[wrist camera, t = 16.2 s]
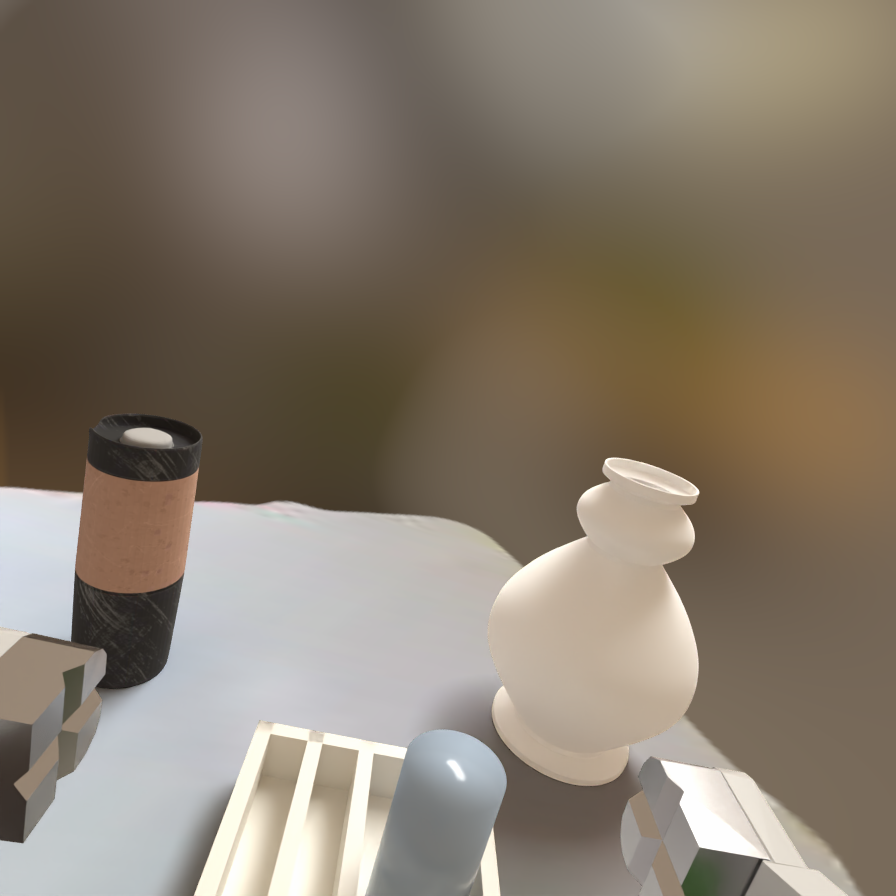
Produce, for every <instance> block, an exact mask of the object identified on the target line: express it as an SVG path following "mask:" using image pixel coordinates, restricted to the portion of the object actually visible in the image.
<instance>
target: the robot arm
mask: <svg viewBox="0 0 896 896" xmlns="http://www.w3.org/2000/svg"><path fill="white" fill-rule="evenodd" d="M106 659H107V654H106V653H105V651H104V650H103V649H102V648H97V647H93V646H88V645H84V644H79V643H74V642H70V641H65V640H61V639H56V638H52V637H47V636H43V635H38V634H33V633H32V634H29V633H27V632H22V631H17V630H13V629H8V628H3V627H0V840H2V841H10V842H17V843H24V841H25V840H26V838H27V837H28V836H29V834H30V833H31V831H32V830H33V829H34V827H35V826H36V824H37V823H38V822H39V820H40V819H41V817H42V816H43V814H44V813H45V812H46V810H47V809H48V807H49V806H50V805H51V803H52V802H53V800H54V799H55V790H56V781H57V780H58V779H60V778H62V777H64V776H66V775H68V774H70V773H72V772H74V770H75V769H76V767H77V766H78V764H79V763H80V761H81V760H82V758H83V757H84V756H85V754H86V752H87V750H88V748H89V745H90V743H91V741H92V739H93V737H94V735H95V733H96V729H97V725H98V722H99V718H100V714H101V707H102V699H101V697H100V696H99V694H98V693H97V691H96V690H95V687H96V685H97V684H98V683H99V682H100V680H101V679H102V678H103V676H104V675H105V672H106ZM638 778H639V780H640V783H641V786H642V789H643V790H642V791H640V792H639V793H637V794H636V795H634V796H633V797H631V798H630V799H629V800H628V802H627V805H626V808H625V810H624V813H623V816H622V822H621V834H620V839H621V847H622V854H623V857H624V861H625V864H626V867H627V870H628V871H629V872H630V873H631V874H632V876H633V877H634V878H635V879H636V880H637V881H638V882H639V883H640V885H641V886H642V888H641V890H640V893H639V895H638V896H848V895H847V894H845V893H844V892H843V891H842V890H841V889H840V888H838V887H837V886H836V885H835V884H834V883H832V882H831V881H830V880H829V879H828V878H826V877H825V876H824V875H823V874H822V873H820V872H819V871H818V870H813V869H808V868H807V866H806V865H805V863H804V861H803V860H802V858H801V856H800V855H799V853H798V852H797V850H796V848H795V847H794V845H793V844H792V842H791V840H790V839H789V837H788V835H787V834H786V832H785V831H784V829H783V827H782V826H781V824H780V822H779V821H778V819H777V818H776V816H775V814H774V813H773V811H772V810H771V808H770V806H769V805H768V803H767V801H766V800H765V798H764V797H763V795H762V793H761V792H760V790H759V789H758V787H757V785H756V784H755V782H754V780H753V779H752V778H750V777H749V776H748V775H747V774H745V773H744V772H738V771H732V770H726V769H720V768H715V767H713V768H709V767H704V766H699V765H693V764H688V763H683V762H678V761H672V760H667V759H662V758H656V757H650V758H649V759H648V760H647V761H646V762H645V763H644V764H643V766H642V769H641V771H640V773H639V776H638Z"/></svg>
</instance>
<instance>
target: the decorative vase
mask: <svg viewBox="0 0 896 896" xmlns="http://www.w3.org/2000/svg"><path fill="white" fill-rule="evenodd" d="M603 473H604V474H605V475H606V476H607V477H608V478H609V479H610V480H611V481H610V482H607V483H603V484H600V485H598V486H595V487H593V488H591V489H589V490H588V491H586V492H585V493H584V494H583V495H582V496H581V498H580V499H579V502H578V505H577V515H578V519H579V521H580V523H581V526H582V527H583V529H584V531H585V533H586V534H587V537H584V538H581V539H579V540H576V541H574V542H571V543H569V544H566V545H564V546H561V547H559V548H556V549H554V550H552V551H550V552H548V553H546V554H544V555H542V556H540V557H539V558H537V559H535V560H534V561H532V562H531V563H529V564H528V565H526V566H525V567H524V568H522V569H521V570H520V571H518V572H517V573H516V574H515V575H514V576H513V577H512V578H511V579H510V580H509V581H508V582H507V583H506V584H505V585H504V587H503V588H502V589H501V591H500V593H499V594H498V596H497V598H496V600H495V602H494V605H493V607H492V610H491V613H490V617H489V622H488V643H489V649H490V653H491V656H492V659H493V662H494V665H495V667H496V670H497V672H498V675H499V677H500V679H501V681H502V683H503V685H504V686H502V687H501V688H500V689H499V690H498V692H497V694H496V695H495V698H494V701H493V705H492V719H493V723H494V726H495V728H496V730H497V732H498V734H499V736H500V737H501V739H502V740H503V742H504V743H505V744H506V745H507V747H508V748H509V749H510V750H511V751H512V752H513V753H514V754H515V755H516V756H517V757H518V758H520V759H521V760H522V761H523V762H525V763H526V764H527V765H529V766H530V767H532V768H533V769H535V770H537V771H538V772H540V773H542V774H544V775H546V776H548V777H551V778H553V779H556V780H558V781H561V782H565V783H569V784H573V785H580V786H597V785H603V784H606V783H609V782H611V781H613V780H615V779H616V778H617V777H619V776H620V775H621V773H622V772H623V771H624V769H625V766H626V764H627V761H628V757H629V747H628V745H631V744H635V743H638V742H641V741H644V740H647V739H649V738H652V737H654V736H656V735H658V734H660V733H662V732H664V731H666V730H667V729H669V728H670V727H672V726H673V725H674V724H675V723H676V722H677V721H678V720H679V719H680V718H681V717H682V716H683V715H684V713H685V712H686V710H687V708H688V706H689V705H690V702H691V700H692V698H693V695H694V692H695V688H696V684H697V679H698V654H697V648H696V643H695V639H694V635H693V631H692V628H691V625H690V622H689V619H688V616H687V613H686V611H685V609H684V606H683V604H682V602H681V600H680V597H679V596H678V593H677V592H676V590H675V588H674V586H673V584H672V582H671V581H670V579H669V577H668V575H667V573H666V571H665V570H664V567H663V566H662V564H667V563H670V562H673V561H675V560H677V559H680V558H682V557H683V556H685V555H686V554H687V553H688V552H689V551H690V550H691V549H692V547H693V544H694V538H695V534H694V529H693V526H692V524H691V522H690V520H689V518H688V516H687V515H686V513H685V512H684V511H683V509H682V508H681V505H689V504H693V503H695V502H696V499H697V497H698V494H699V490H698V489H697V488H696V487H695V486H694V485H693V484H691V483H690V482H688V481H687V480H685V479H683V478H681V477H679V476H677V475H675V474H672V473H670V472H668V471H665V470H663V469H660V468H657V467H654V466H651V465H648V464H644V463H641V462H637V461H633V460H628V459H622V458H609V459H606V461H605V463H604V466H603Z"/></svg>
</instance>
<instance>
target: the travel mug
mask: <svg viewBox="0 0 896 896" xmlns="http://www.w3.org/2000/svg"><path fill="white" fill-rule="evenodd" d="M201 448H202V435H201V433H200V432H199V431H198V430H197V429H195V428H194V427H192V426H190V425H188V424H186V423H183V422H180V421H177V420H174V419H170V418H165V417H160V416H154V415H145V414H115V415H109V416H106V417H103V418H102V419H101V420H100V422H99V424H98V425H97V426H96V427H95V428H94V429H92V428H90V429H89V444H88V454H87V463H86V473H85V481H84V491H83V500H82V509H81V518H80V527H79V537H78V546H77V555H76V564H75V581H74V599H73V617H72V636H71V642H74V643H79V644H84V645H88V646H93V647H97V648H102V649H103V650H104V651H105V653H106V654H107V659H106V672H105V675H104V676H103V678H102V679H101V680H100V682H99V683H98V684H97V685H96V686H97V687H102V688H125V687H130V686H134V685H138V684H141V683H144V682H146V681H148V680H150V679H151V678H153V677H155V676H156V675H157V674H158V673H159V672H160V671H161V670H162V669H163V668H164V666H165V664H166V662H167V659H168V655H169V650H170V645H171V640H172V635H173V629H174V624H175V619H176V613H177V608H178V603H179V598H180V592H181V587H182V582H183V576H184V570H185V564H186V557H187V550H188V542H189V535H190V528H191V521H192V513H193V506H194V499H195V492H196V484H197V477H198V470H199V463H200V455H201Z"/></svg>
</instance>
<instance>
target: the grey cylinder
mask: <svg viewBox="0 0 896 896" xmlns="http://www.w3.org/2000/svg"><path fill="white" fill-rule="evenodd" d="M506 785H507V780H506V774H505V770H504V768H503V766H502V764H501V762H500V760H499V759H498V757H497V756H496V755H495V754H494V752H493V751H492V750H491V749H490V748H489V747H487V746H486V745H485V744H484V743H482V742H481V741H479V740H478V739H476V738H474V737H472V736H470V735H467V734H465V733H462V732H458V731H454V730H444V729H440V730H432V731H428V732H425V733H423V734H421V735H419V736H418V737H416V738H415V739H414V740H413V741H412V742H411V743H410V745H409V747H408V748H407V751H406V754H405V758H404V761H403V765H402V768H401V772H400V775H399V779H398V782H397V786H396V789H395V793H394V796H393V800H392V803H391V807H390V810H389V814H388V817H387V821H386V824H385V828H384V831H383V835H382V838H381V842H380V845H379V849H378V852H377V855H376V859H375V862H374V866H373V869H372V873H371V876H370V880H369V883H368V887H367V890H366V894H365V896H469V894H470V891H471V889H472V886H473V883H474V880H475V877H476V874H477V871H478V868H479V866H480V863H481V860H482V857H483V854H484V851H485V848H486V846H487V843H488V840H489V837H490V834H491V831H492V828H493V825H494V823H495V820H496V817H497V814H498V811H499V808H500V805H501V803H502V800H503V797H504V794H505V791H506Z"/></svg>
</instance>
